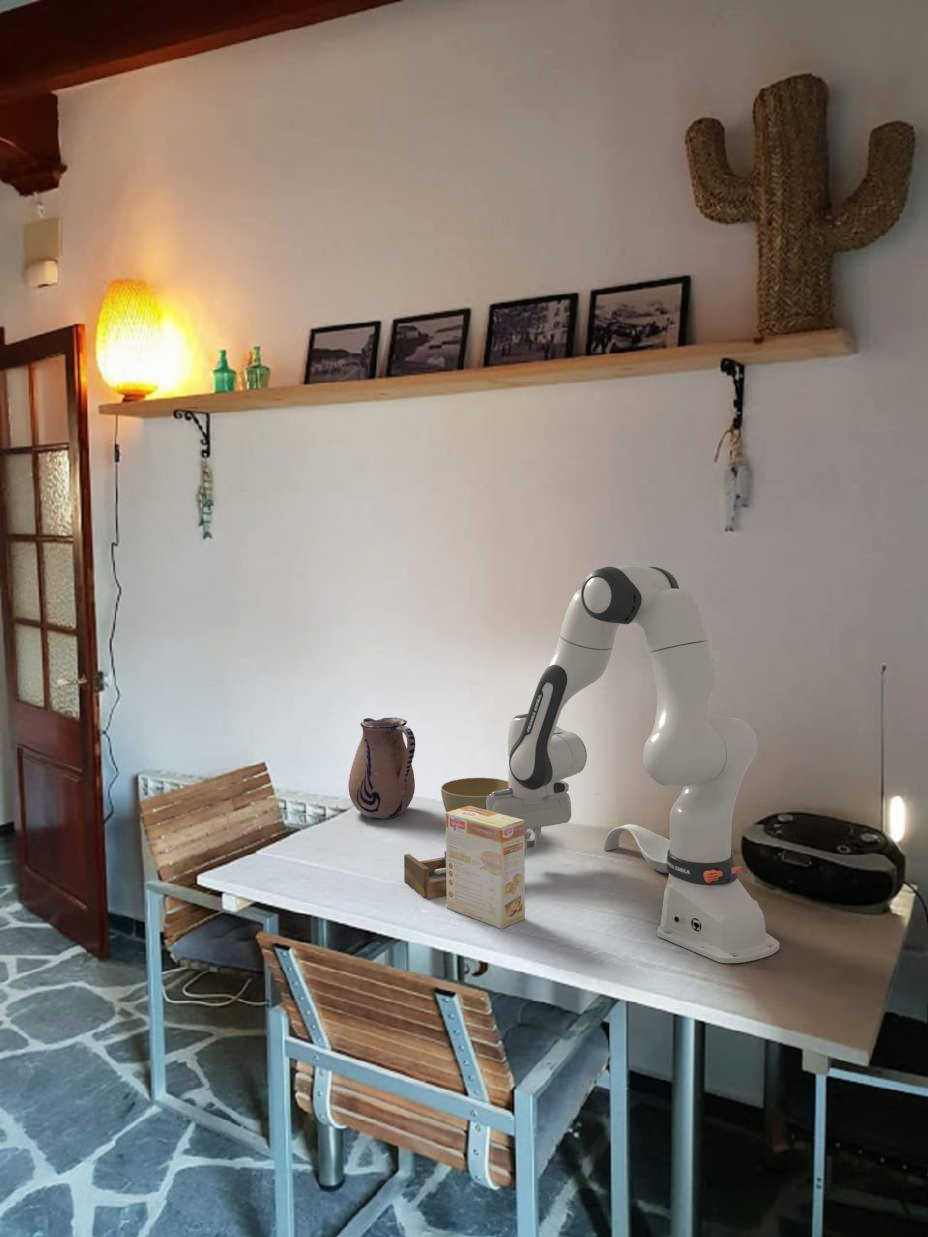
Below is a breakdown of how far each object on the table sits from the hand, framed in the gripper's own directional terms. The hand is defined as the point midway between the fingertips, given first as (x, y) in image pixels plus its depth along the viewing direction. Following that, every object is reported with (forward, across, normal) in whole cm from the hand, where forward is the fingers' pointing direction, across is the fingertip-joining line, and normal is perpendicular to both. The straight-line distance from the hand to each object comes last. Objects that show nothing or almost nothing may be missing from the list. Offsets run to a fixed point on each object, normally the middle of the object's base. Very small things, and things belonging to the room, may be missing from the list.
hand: (528, 847), depth 208 cm
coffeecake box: (+5, -20, -17) cm, 27 cm away
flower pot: (+5, +1, +26) cm, 27 cm away
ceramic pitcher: (+5, -12, +52) cm, 53 cm away
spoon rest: (+5, +26, -9) cm, 28 cm away
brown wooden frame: (+5, -17, 0) cm, 18 cm away
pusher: (+4, -20, 0) cm, 20 cm away
